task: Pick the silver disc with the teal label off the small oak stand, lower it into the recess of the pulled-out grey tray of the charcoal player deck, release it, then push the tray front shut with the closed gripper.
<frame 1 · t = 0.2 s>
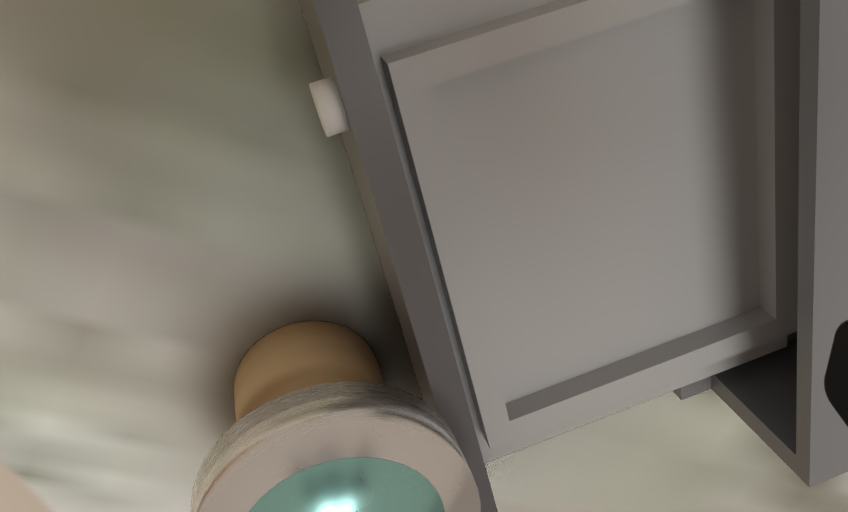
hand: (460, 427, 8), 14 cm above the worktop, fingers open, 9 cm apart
disc: (332, 493, 19), point 5 cm above the worktop, touching oak stand
oak stand: (307, 383, 24), on the worktop
tray: (605, 234, 21), point 2 cm above the worktop, slide at 9.0 cm
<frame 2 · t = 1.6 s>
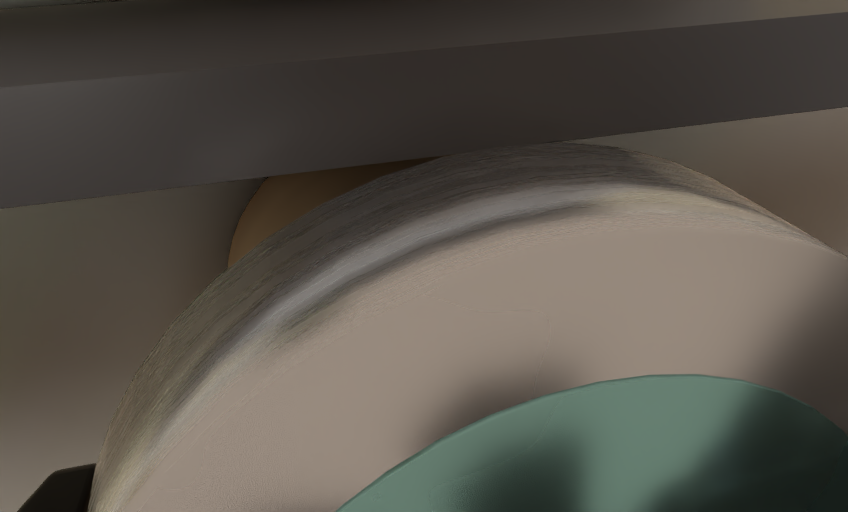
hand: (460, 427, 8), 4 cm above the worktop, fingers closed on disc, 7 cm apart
disc: (499, 509, 7), point 5 cm above the worktop, touching gripper, oak stand
oak stand: (385, 272, 11), on the worktop
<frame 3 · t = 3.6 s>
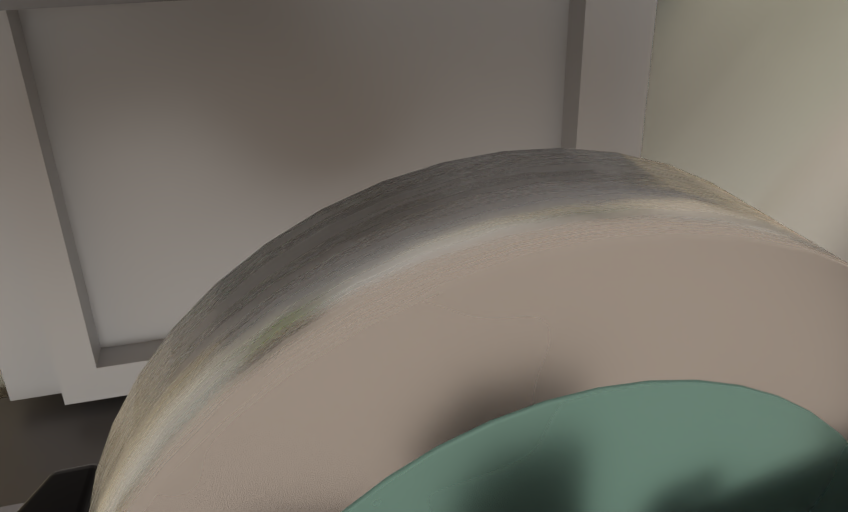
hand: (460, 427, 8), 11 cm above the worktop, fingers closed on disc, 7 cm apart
tray: (336, 180, 16), point 2 cm above the worktop, slide at 9.0 cm
when the fingers open (2 cm above the worktop, at t = 5.5 s): disc moves 1 cm and tips over, resting on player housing, tray.
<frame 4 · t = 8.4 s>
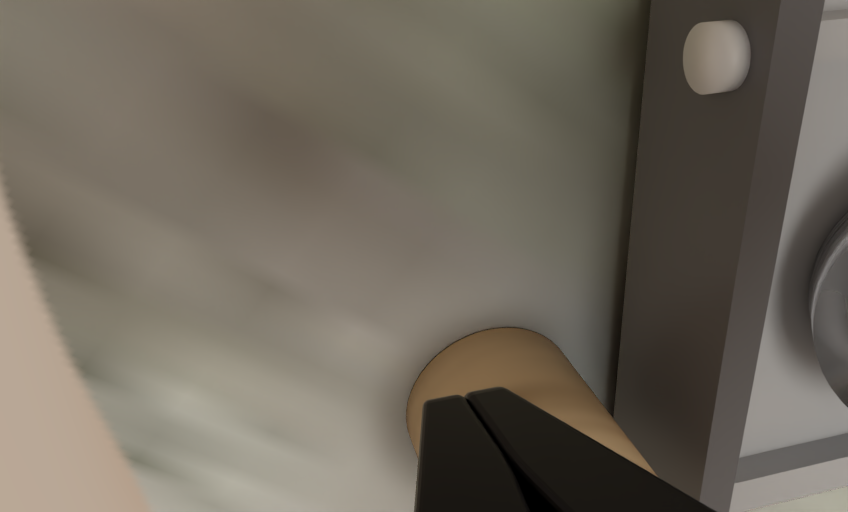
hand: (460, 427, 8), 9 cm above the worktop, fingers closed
oak stand: (491, 403, 19), on the worktop
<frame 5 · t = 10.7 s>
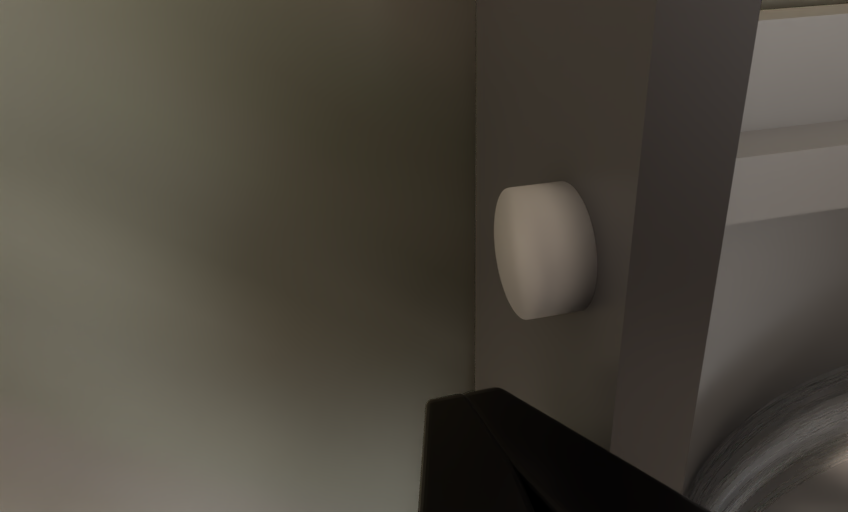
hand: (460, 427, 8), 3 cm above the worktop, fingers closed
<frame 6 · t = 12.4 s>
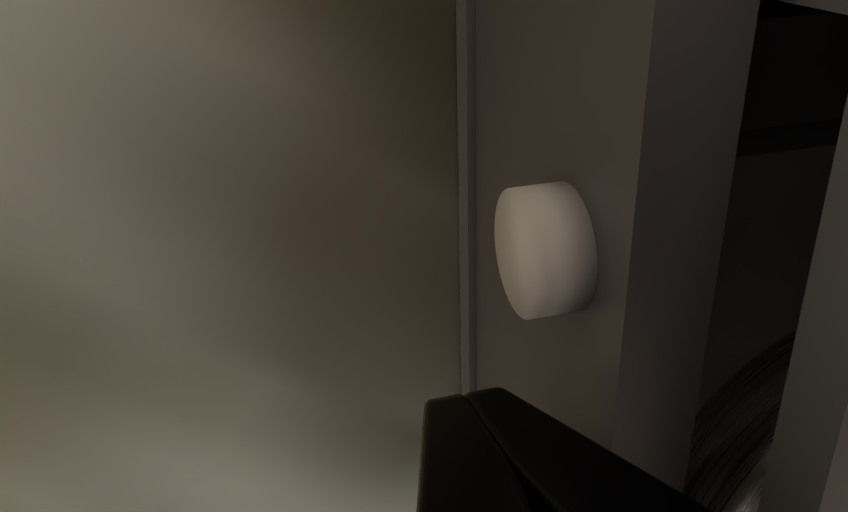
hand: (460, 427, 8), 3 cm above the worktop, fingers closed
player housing: (831, 417, 14), on the worktop
disc: (832, 477, 13), point 1 cm above the worktop, touching tray
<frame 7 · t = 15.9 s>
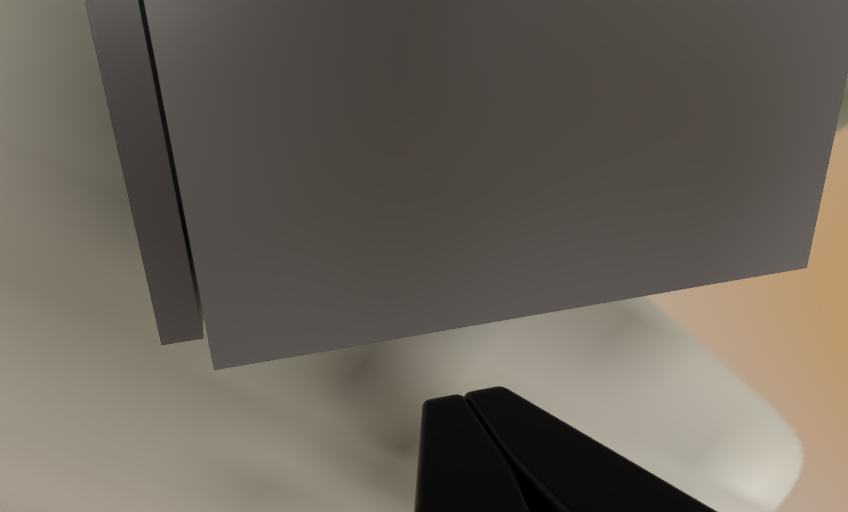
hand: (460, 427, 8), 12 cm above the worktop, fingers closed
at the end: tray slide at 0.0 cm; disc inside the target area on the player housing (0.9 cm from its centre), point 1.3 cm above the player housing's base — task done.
